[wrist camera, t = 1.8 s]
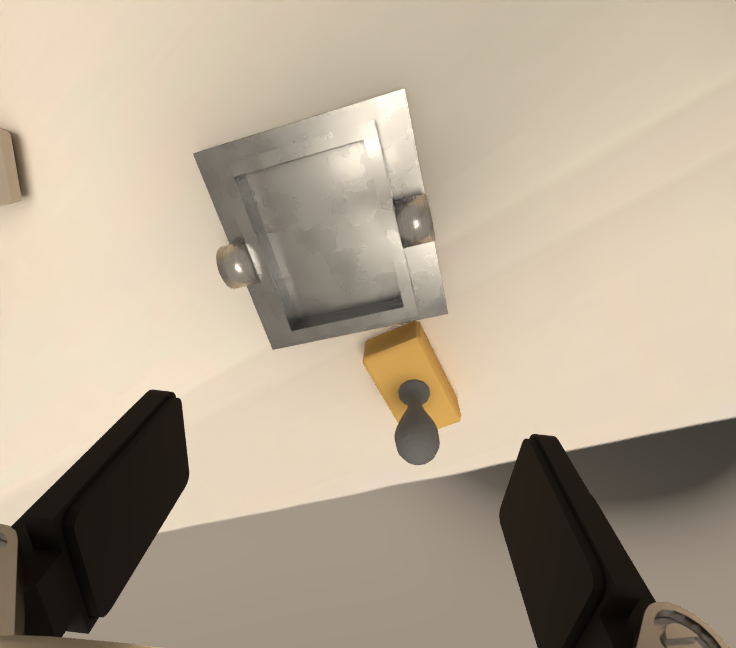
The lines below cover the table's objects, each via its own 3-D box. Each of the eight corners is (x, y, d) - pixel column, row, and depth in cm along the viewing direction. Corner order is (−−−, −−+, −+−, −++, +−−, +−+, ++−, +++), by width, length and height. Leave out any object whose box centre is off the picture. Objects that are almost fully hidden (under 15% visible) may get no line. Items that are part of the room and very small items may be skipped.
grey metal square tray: (404, 90, 29) (405, 80, 25) (446, 308, 36) (452, 331, 32) (200, 153, 32) (168, 154, 27) (276, 343, 39) (260, 369, 34)
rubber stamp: (457, 398, 40) (479, 492, 29) (406, 416, 42) (409, 513, 31) (418, 319, 37) (426, 392, 26) (363, 342, 38) (350, 421, 27)
